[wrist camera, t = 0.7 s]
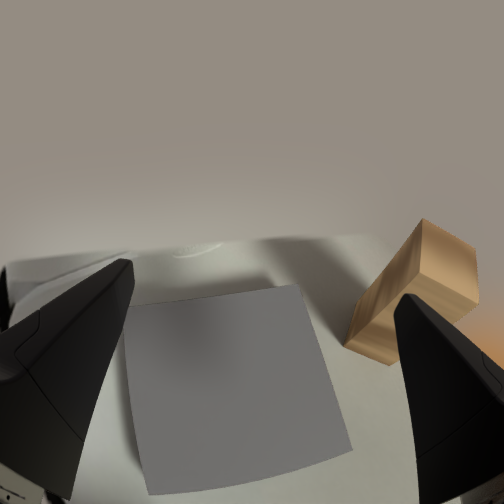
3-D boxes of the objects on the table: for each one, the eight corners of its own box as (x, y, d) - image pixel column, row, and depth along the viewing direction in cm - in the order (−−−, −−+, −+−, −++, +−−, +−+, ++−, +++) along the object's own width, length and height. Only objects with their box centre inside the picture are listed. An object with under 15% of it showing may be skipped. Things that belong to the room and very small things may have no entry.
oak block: (389, 366, 24) (478, 304, 14) (342, 346, 25) (419, 272, 15) (399, 321, 27) (475, 248, 17) (356, 302, 28) (422, 218, 18)
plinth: (336, 450, 19) (352, 450, 17) (156, 489, 16) (148, 495, 13) (289, 300, 27) (297, 283, 25) (130, 322, 24) (122, 307, 21)
